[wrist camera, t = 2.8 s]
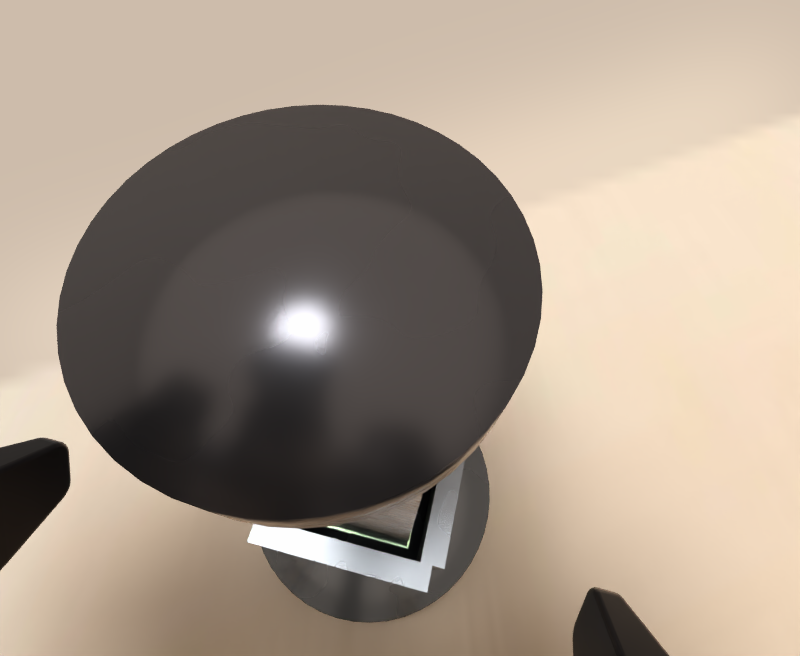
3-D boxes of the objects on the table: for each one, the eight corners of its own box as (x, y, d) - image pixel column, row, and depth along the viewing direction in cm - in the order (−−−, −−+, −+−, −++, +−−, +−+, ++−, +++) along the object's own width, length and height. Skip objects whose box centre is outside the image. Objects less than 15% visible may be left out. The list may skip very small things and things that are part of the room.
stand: (459, 649, 16) (489, 684, 11) (229, 581, 17) (155, 585, 12) (498, 415, 19) (534, 358, 14) (305, 369, 20) (274, 300, 15)
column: (422, 577, 15) (502, 593, 4) (282, 538, 16) (-54, 437, 4) (452, 434, 17) (564, 143, 6) (326, 403, 18) (188, 76, 6)
